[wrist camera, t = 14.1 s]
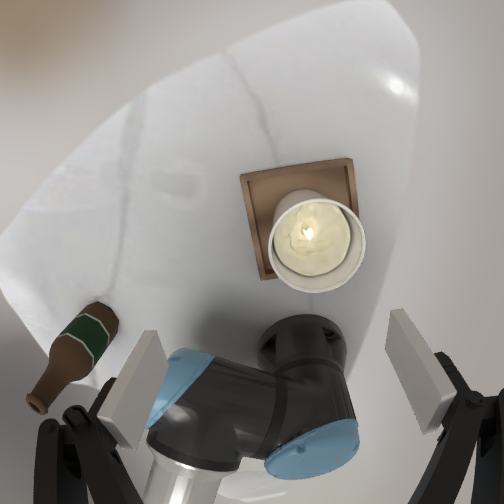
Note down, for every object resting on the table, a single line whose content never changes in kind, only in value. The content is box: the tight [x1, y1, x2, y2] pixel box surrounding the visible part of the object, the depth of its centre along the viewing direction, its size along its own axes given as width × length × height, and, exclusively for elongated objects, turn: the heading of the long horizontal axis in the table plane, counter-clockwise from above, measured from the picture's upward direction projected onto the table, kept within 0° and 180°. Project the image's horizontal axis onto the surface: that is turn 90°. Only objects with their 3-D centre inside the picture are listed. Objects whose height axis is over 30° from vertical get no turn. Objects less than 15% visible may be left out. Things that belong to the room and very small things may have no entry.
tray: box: [240, 158, 362, 281], centre depth 38 cm, size 15×15×2 cm
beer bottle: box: [26, 302, 119, 415], centre depth 37 cm, size 8×8×24 cm
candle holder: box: [268, 189, 366, 293], centre depth 33 cm, size 10×10×12 cm
